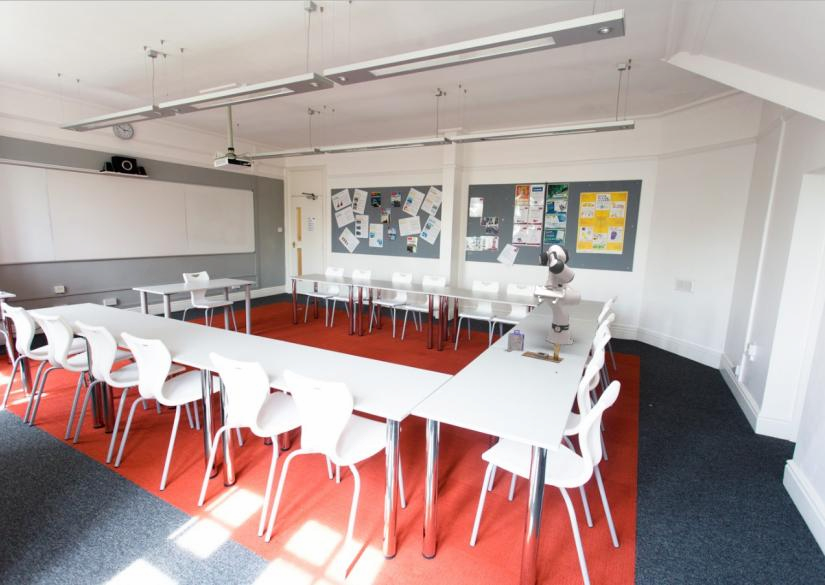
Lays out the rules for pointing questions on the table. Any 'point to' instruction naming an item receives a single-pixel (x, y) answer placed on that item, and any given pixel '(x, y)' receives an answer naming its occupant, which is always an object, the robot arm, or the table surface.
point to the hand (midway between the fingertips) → (546, 303)
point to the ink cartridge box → (515, 341)
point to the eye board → (542, 356)
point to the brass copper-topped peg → (556, 352)
